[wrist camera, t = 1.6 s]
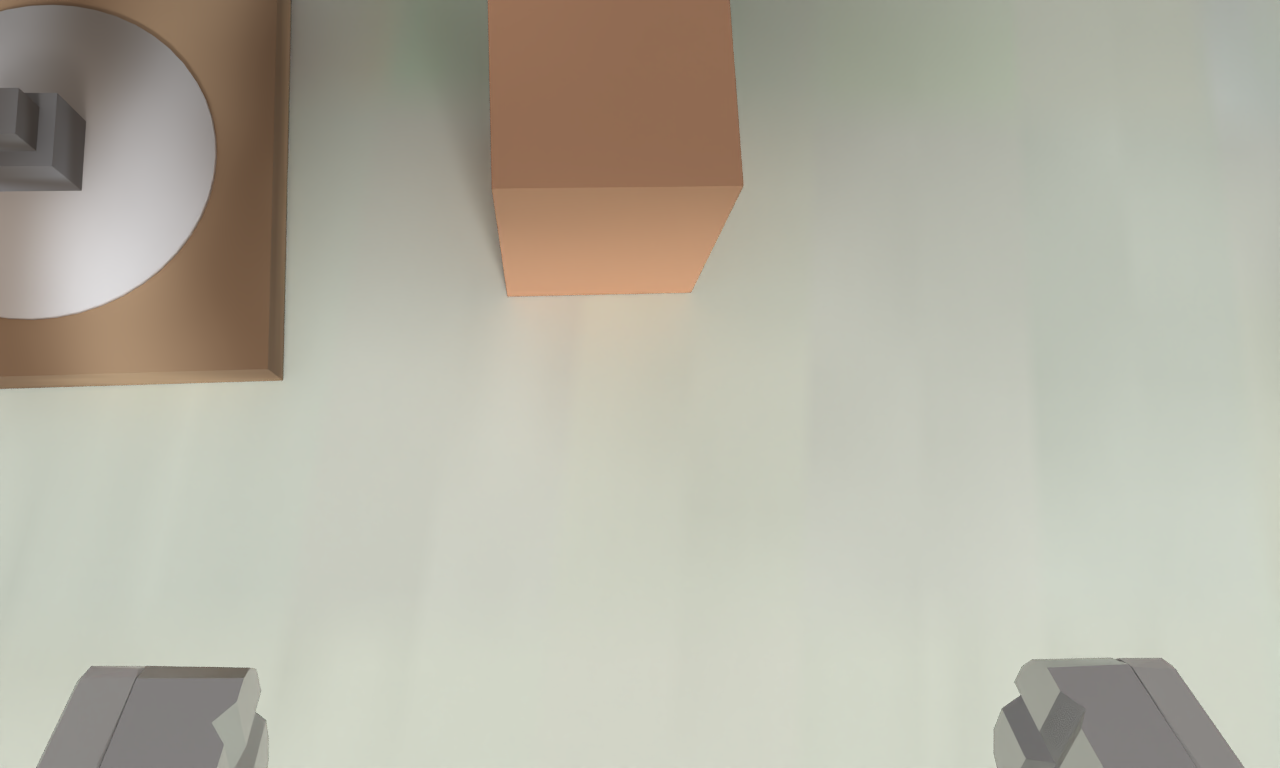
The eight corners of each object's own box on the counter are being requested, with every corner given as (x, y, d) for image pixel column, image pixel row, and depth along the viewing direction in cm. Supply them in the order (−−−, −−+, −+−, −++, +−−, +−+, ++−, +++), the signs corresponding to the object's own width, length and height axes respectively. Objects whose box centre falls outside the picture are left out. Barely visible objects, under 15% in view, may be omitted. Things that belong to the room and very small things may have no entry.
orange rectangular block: (680, 123, 30) (726, -38, 22) (690, 292, 29) (743, 185, 21) (503, 124, 29) (486, -41, 22) (507, 296, 28) (491, 188, 21)
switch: (291, -7, 30) (248, -103, 25) (282, 380, 27) (234, 343, 23) (-133, -10, 28) (-250, -112, 24) (-179, 394, 26) (-318, 358, 22)
